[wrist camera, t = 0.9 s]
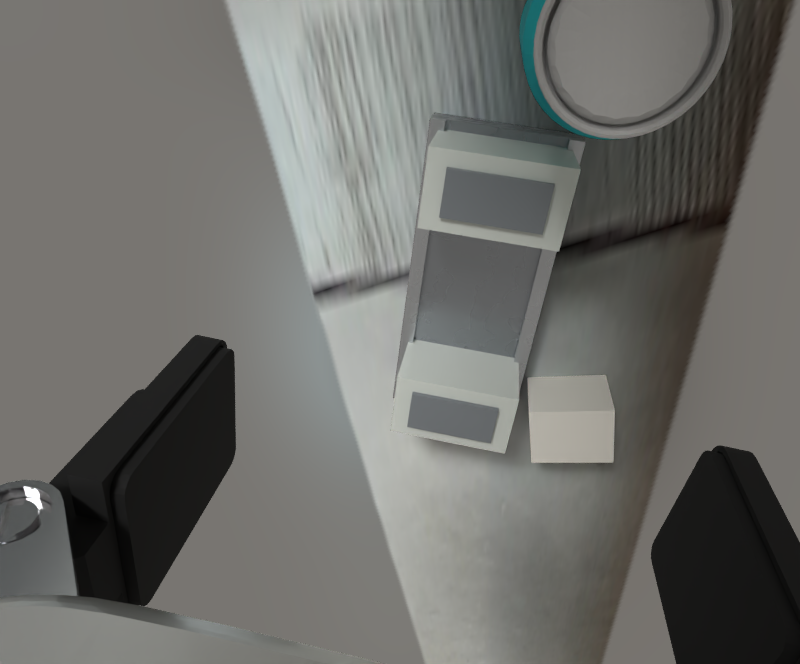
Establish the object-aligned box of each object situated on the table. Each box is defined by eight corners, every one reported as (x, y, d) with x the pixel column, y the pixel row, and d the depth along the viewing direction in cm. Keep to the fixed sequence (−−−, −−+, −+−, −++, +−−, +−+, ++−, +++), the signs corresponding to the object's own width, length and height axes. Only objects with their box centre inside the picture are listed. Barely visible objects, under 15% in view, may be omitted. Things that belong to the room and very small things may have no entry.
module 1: (439, 128, 31) (427, 147, 27) (572, 148, 30) (581, 171, 26) (428, 201, 33) (416, 229, 29) (553, 222, 32) (559, 254, 28)
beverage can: (591, 109, 31) (647, 185, 18) (497, 52, 30) (484, 87, 17) (666, -3, 28) (798, -10, 15) (563, -68, 27) (608, -135, 14)
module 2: (409, 338, 37) (396, 379, 33) (518, 358, 37) (519, 403, 33) (402, 389, 39) (389, 433, 35) (505, 409, 39) (504, 457, 35)
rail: (434, 112, 32) (429, 118, 30) (581, 134, 31) (585, 142, 30) (398, 381, 41) (392, 398, 39) (511, 403, 40) (511, 421, 39)
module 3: (527, 376, 39) (528, 412, 36) (605, 374, 38) (614, 410, 35) (529, 424, 41) (531, 462, 38) (604, 423, 40) (613, 462, 37)
